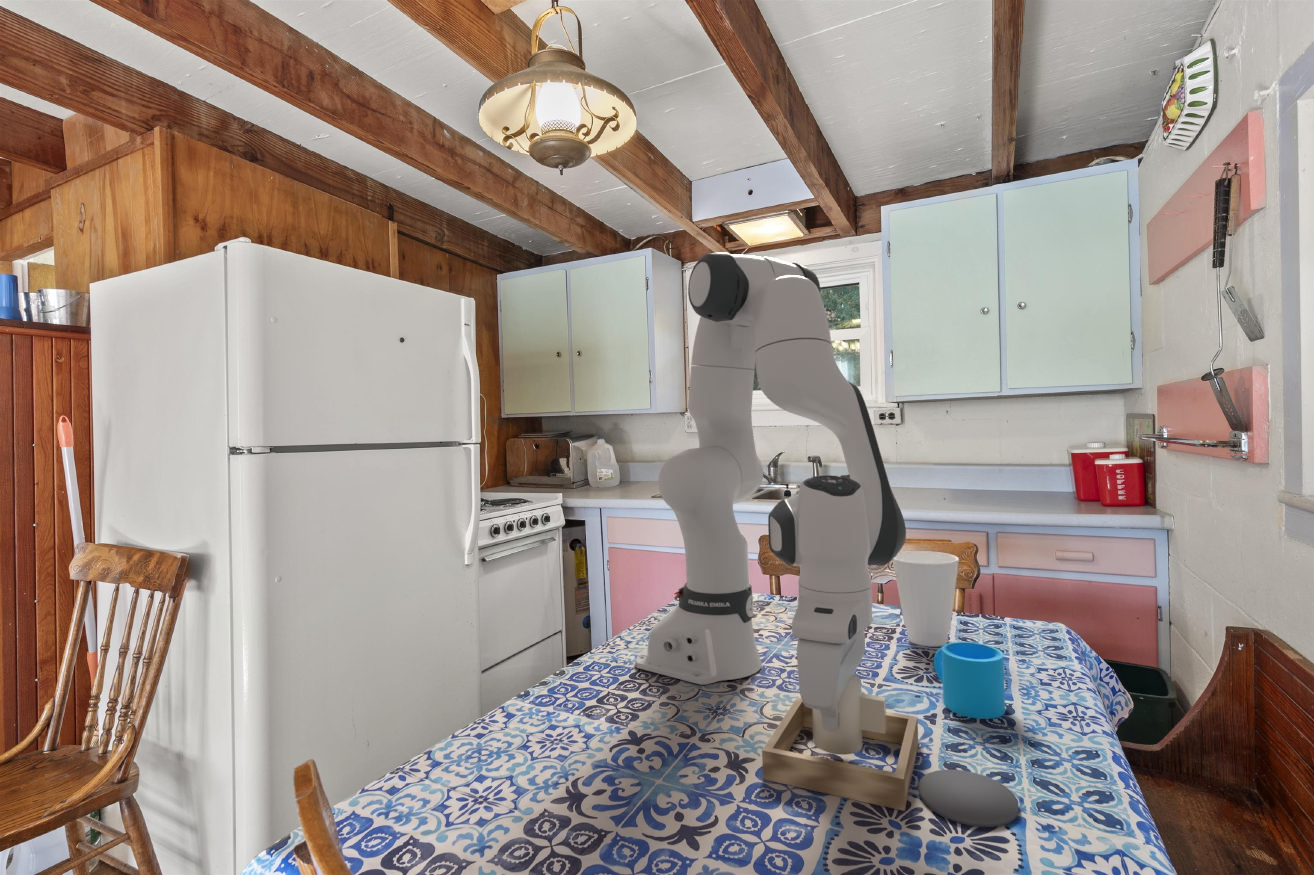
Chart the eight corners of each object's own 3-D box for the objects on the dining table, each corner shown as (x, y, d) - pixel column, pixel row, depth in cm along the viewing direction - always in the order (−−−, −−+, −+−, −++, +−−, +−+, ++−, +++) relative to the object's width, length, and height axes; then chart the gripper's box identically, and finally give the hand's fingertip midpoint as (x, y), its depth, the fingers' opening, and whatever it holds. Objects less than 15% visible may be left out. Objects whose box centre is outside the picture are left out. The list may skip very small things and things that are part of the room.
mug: (1018, 713, 91) (1017, 656, 91) (971, 723, 89) (969, 664, 89) (957, 682, 103) (956, 631, 102) (914, 689, 100) (912, 638, 100)
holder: (763, 779, 77) (762, 750, 77) (797, 721, 91) (796, 697, 91) (904, 810, 70) (903, 779, 70) (918, 743, 84) (917, 716, 84)
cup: (893, 647, 119) (890, 562, 119) (895, 627, 130) (893, 549, 130) (963, 653, 114) (960, 565, 114) (960, 633, 125) (957, 551, 125)
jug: (807, 748, 79) (806, 684, 79) (819, 726, 85) (817, 667, 84) (882, 763, 75) (880, 696, 75) (889, 740, 80) (888, 677, 80)
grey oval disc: (914, 813, 69) (914, 807, 69) (922, 767, 78) (922, 762, 78) (1020, 836, 65) (1020, 831, 65) (1016, 785, 73) (1016, 780, 73)
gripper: (828, 584, 91) (831, 680, 91) (787, 627, 73) (790, 747, 73) (875, 588, 88) (877, 688, 88) (843, 634, 70) (846, 759, 70)
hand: (837, 715), depth 80 cm, fingers closed on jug, 6 cm apart
